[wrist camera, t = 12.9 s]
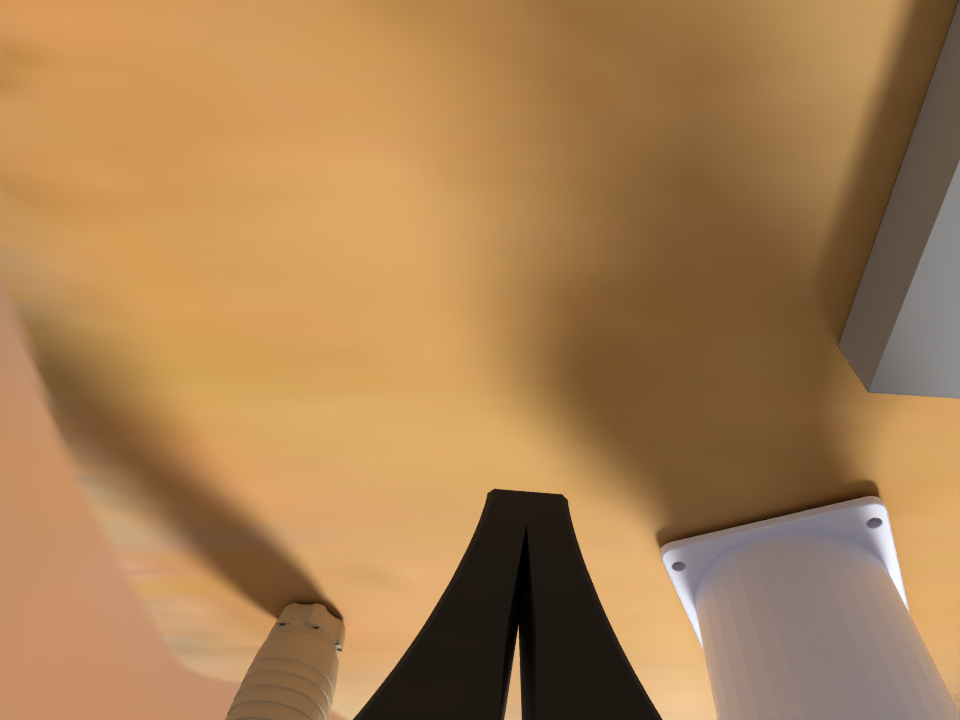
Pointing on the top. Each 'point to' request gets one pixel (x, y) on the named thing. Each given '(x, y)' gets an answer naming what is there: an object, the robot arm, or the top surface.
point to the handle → (293, 668)
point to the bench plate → (916, 257)
